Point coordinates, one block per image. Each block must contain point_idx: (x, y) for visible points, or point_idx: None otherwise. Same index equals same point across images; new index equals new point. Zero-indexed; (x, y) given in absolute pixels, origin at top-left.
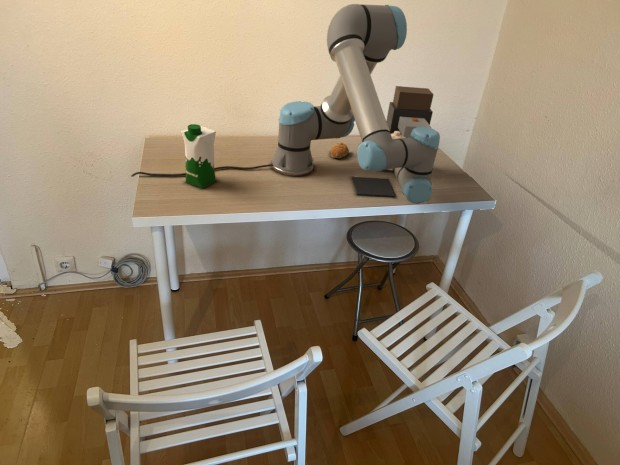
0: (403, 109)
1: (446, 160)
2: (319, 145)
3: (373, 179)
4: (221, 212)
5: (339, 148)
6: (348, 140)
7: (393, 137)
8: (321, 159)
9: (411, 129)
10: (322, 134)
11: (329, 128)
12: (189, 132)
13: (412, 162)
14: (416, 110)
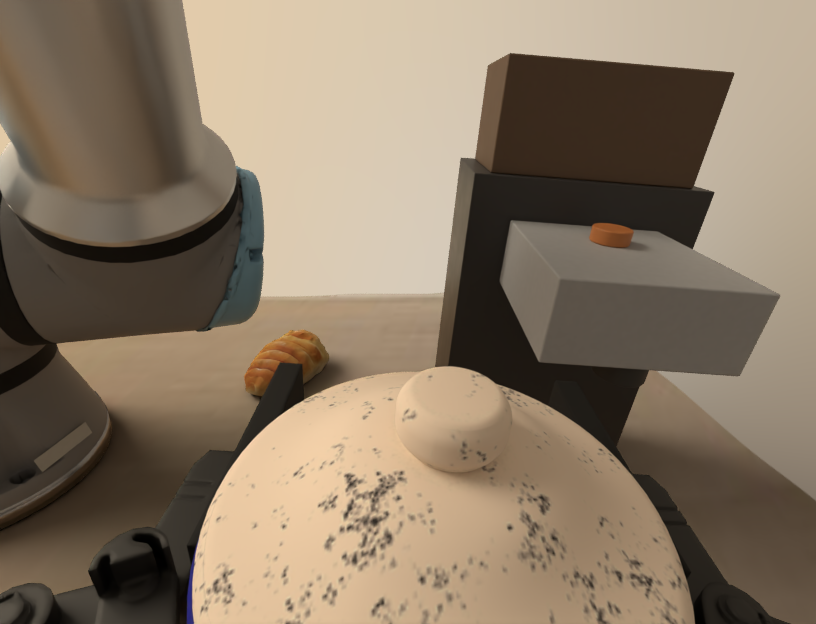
0: (532, 177)
1: (683, 396)
2: (248, 332)
3: None
4: None
5: (279, 355)
6: (358, 313)
7: (366, 523)
8: (196, 402)
9: (608, 306)
10: (42, 321)
11: (75, 286)
12: None
13: None
14: (613, 183)
